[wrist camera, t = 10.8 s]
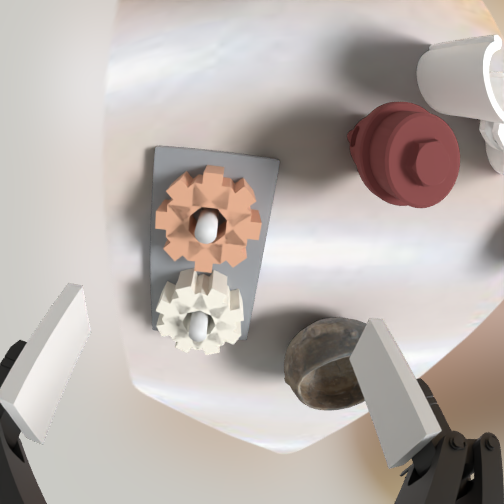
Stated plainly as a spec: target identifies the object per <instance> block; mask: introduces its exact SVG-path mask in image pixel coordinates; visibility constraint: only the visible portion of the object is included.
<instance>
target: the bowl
mask: <svg viewBox="0 0 504 504" xmlns="http://www.w3.org/2000/svg"><path fill="white" fill-rule="evenodd" d="M365 327H366V323H363V322H360V321H357V320H354V319H348V318H342V317H337V318H327V319H321V320H318V321H316V322H314V323H313V324H311V325H309V326H307V327H306V328H305V329H303V330H301V331H300V332H299V333H298V334H297V335H296V336H295V337H294V338H293V340H292V341H291V343H290V344H289V346H288V348H287V351H286V355H285V360H284V373H285V378H284V379H285V382H286V383H287V384H288V385H290V387H291V389H292V390H293V392H294V393H295V395H296V396H297V397H298V398H299V400H300V401H301V402H302V403H304V404H305V405H307V406H309V407H311V408H314V409H318V410H339V409H344V408H349V407H352V406H355V405H357V404H359V403H362V402H363V401H365V399H364V396H363V393H362V391H361V388H360V385H359V383H358V380H357V377H356V375H355V372H354V370H353V367H352V364H351V362H350V359H349V358H350V356H351V355H352V353H353V351H354V349H355V347H356V345H357V343H358V341H359V339H360V337H361V335H362V333H363V331H364V329H365Z"/></svg>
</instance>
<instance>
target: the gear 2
mask: <svg viewBox="0 0 504 504" xmlns="http://www.w3.org/2000/svg"><path fill="white" fill-rule="evenodd" d="M194 269H195V268H192V269H188V270H184V271H181V272H180V275H179V279H178V281H177V283H176V285H175V284H173V283H170V282H168V281H167V283H166V285H165V287H164V289H163V291H162V293H161V296H160V299H159V302H158V305H157V308H156V311H157V312H159V313H160V315H159V318H158V321H157V325H156V327H157V328H158V330H159V332H160V334H161V336H162V337H165V336H171V338H172V340H174V341H176V345H175V348H177V349H179V350H181V351H184V352H186V353H189V351H190V350H191V348H193V349H195V350H201V349H203V350H204V352H205V354H206V355H210V354H215V353H220V346H222V345H224V343H225V342H228V343H231V344H233V345H234V344H235V343H236V341H237V340H238V339H239V337H240V336H241V321H244V315H243V300H242V297H241V294H240V291H239V289H236V290H232V291H230V289H229V286H228V285H227V276H225V275H223V274H221V273H219V272H217V271H215V270H213V272H212V274H211V275H210V277H209V276H207V275H205V274H202V275H197V272H196V271H194ZM195 311H202V312H204V313H206V314H208V325H207V336H206V339H205V340H203V341H200V342H197V341H193V340H192V339H190V337H189V335H188V334H189V327H190V321H191V315H192V312H195Z"/></svg>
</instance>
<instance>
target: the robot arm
mask: <svg viewBox="0 0 504 504" xmlns="http://www.w3.org/2000/svg"><path fill="white" fill-rule="evenodd" d="M90 333H91V329H90V324H89V319H88V313H87V308H86V303H85V296H84V290H83V286H82V285H77V284H71V283H68V284H67V286H66V287H65V288H64V290H63V291H62V292H61V294H60V295H59V296H58V298H57V299H56V301H55V302H54V303H53V305H52V306H51V308H50V309H49V310H48V312H47V313H46V315H45V316H44V318H43V319H42V321H41V322H40V324H39V325H38V327H37V328H36V330H35V331H34V333H33V334H32V336H31V337H30V339H29V340H28V342H25V341H21V340H19V341H18V342H16V343H15V344H14V345H13V346H11V347H10V349H9V350H8V352H7V354H6V355H5V358H3V360H2V362H1V363H0V504H47V503H46V501H45V499H44V497H43V495H42V493H41V490H40V488H39V486H38V484H37V482H36V479H35V477H34V475H33V472H32V470H31V467H30V465H29V463H28V460H27V457H26V454H25V452H24V449H23V446H22V443H21V440H20V439H19V434H20V432H22V433H23V434H24V435H25V437H26V438H28V439H30V440H32V441H34V442H37V443H39V444H42V445H43V443H44V440H45V438H46V435H47V432H48V429H49V427H50V424H51V421H52V419H53V416H54V414H55V411H56V408H57V406H58V403H59V401H60V399H61V396H62V394H63V392H64V389H65V387H66V385H67V382H68V380H69V377H70V375H71V373H72V371H73V369H74V366H75V364H76V362H77V360H78V358H79V356H80V353H81V352H82V349H83V347H84V345H85V343H86V341H87V339H88V337H89V335H90ZM349 359H350V362H351V364H352V367H353V370H354V372H355V375H356V377H357V380H358V383H359V385H360V388H361V391H362V393H363V396H364V399H365V401H366V404H367V407H368V410H369V412H370V415H371V418H372V421H373V424H374V426H375V429H376V432H377V435H378V438H379V441H380V444H381V447H382V450H383V453H384V456H385V459H386V461H387V465H388V468H389V469H390V468H393V467H397V466H401V465H404V464H405V463H406V462H408V461H409V460H410V459H411V458H412V461H413V464H412V465H410V466H409V467H408V468H407V469H405V470H404V471H403V472H402V473H401V475H400V476H403V475H404V474H406V473H407V472H408V473H407V476H406V477H405V480H404V483H403V485H402V488H401V490H400V492H399V494H398V497H397V499H396V501H395V504H504V487H503V469H502V458H501V449H500V443H499V440H498V439H497V437H496V436H495V435H494V434H492V433H484V434H483V435H482V436H481V437H480V438H478V439H465V437H464V436H463V435H462V434H461V433H459V432H457V431H451V429H450V427H449V425H448V423H447V421H446V419H445V417H444V415H443V413H442V411H441V409H440V407H439V405H438V404H437V401H436V399H435V398H434V397H433V394H432V392H431V390H430V388H429V387H428V385H427V384H426V383H425V382H424V381H423V380H422V379H421V378H420V379H416V378H415V376H414V374H413V372H412V370H411V369H410V367H409V365H408V363H407V361H406V359H405V358H404V356H403V354H402V352H401V350H400V349H399V347H398V345H397V343H396V341H395V340H394V338H393V336H392V334H391V333H390V331H389V329H388V328H387V326H386V324H385V322H384V321H383V319H372V318H369V320H368V322H367V324H366V327H365V329H364V331H363V333H362V335H361V337H360V339H359V341H358V343H357V345H356V347H355V349H354V351H353V353H352V355H351V356H350V358H349ZM473 473H474V479H473V480H471V478H470V475H472V474H473Z"/></svg>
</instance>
